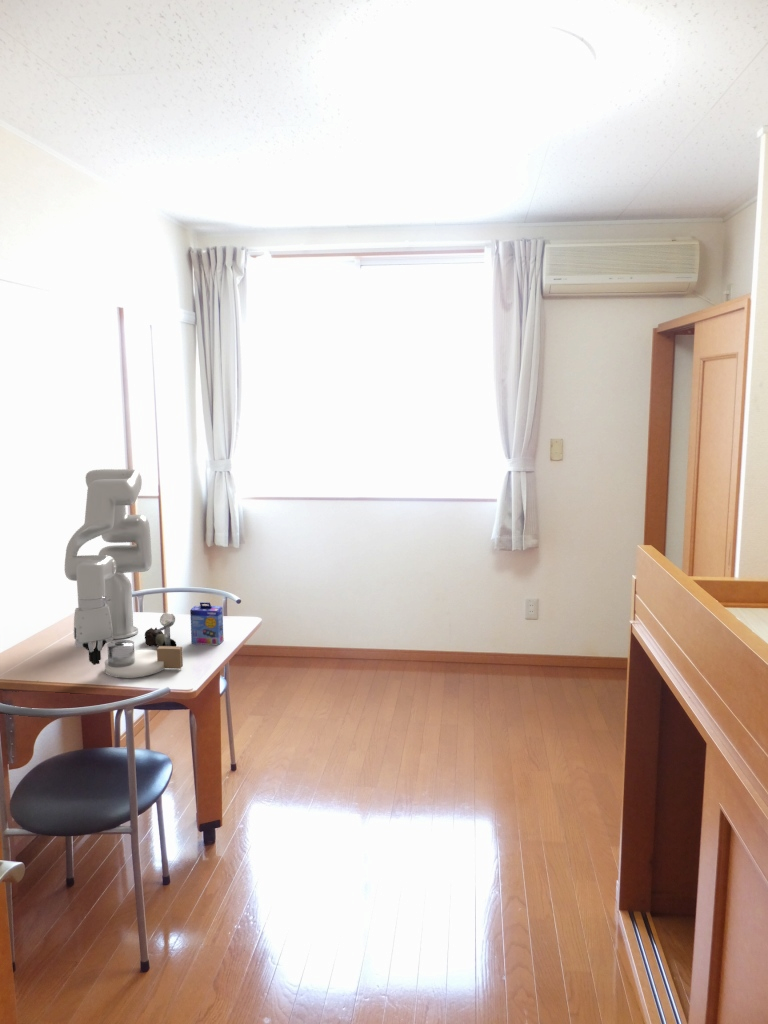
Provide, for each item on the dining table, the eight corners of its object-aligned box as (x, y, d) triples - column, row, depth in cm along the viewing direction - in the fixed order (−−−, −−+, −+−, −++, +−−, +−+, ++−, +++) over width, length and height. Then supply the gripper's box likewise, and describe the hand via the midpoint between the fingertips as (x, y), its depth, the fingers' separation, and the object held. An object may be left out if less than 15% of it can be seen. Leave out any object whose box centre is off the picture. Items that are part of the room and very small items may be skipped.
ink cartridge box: (190, 644, 250) (189, 602, 248) (195, 639, 255) (194, 598, 253) (219, 645, 249) (218, 603, 247) (224, 640, 254) (222, 599, 252)
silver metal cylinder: (113, 669, 218) (112, 649, 217) (104, 662, 223) (103, 642, 222) (138, 663, 222) (137, 644, 221) (129, 657, 228) (128, 637, 227)
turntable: (94, 676, 218) (93, 656, 217) (119, 656, 236) (118, 637, 235) (171, 678, 217) (170, 657, 216) (190, 658, 235) (190, 638, 234)
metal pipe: (177, 650, 243) (175, 634, 242) (156, 655, 239) (155, 638, 238) (160, 640, 257) (159, 624, 257) (140, 643, 254) (139, 627, 253)
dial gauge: (150, 655, 239) (148, 613, 237) (172, 650, 243) (170, 609, 242) (156, 659, 235) (154, 617, 233) (178, 654, 239) (177, 613, 237)
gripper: (113, 596, 223) (116, 654, 226) (61, 604, 214) (65, 664, 217) (121, 601, 217) (124, 661, 220) (68, 609, 208) (72, 672, 211)
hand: (95, 663), depth 219 cm, fingers closed
